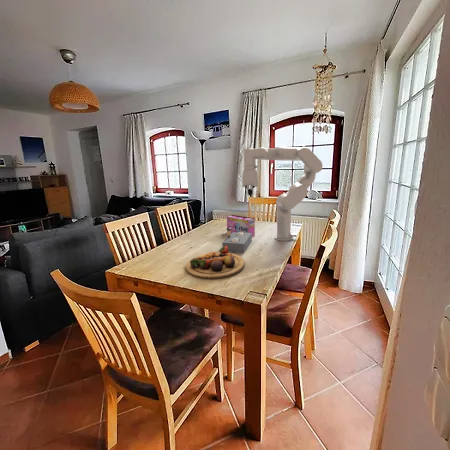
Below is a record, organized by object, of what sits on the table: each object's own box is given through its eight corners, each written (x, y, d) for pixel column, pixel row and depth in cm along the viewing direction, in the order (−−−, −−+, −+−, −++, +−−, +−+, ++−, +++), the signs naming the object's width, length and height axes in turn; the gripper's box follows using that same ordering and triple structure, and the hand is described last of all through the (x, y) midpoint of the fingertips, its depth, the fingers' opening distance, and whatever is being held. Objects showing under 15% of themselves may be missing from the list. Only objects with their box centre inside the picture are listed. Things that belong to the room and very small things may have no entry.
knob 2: (244, 241, 173) (244, 232, 171) (242, 243, 169) (242, 234, 167) (238, 241, 174) (237, 232, 173) (236, 243, 170) (236, 233, 168)
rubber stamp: (231, 236, 166) (231, 227, 165) (230, 237, 164) (230, 228, 162) (227, 236, 167) (227, 227, 166) (226, 237, 164) (226, 228, 163)
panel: (251, 241, 174) (251, 232, 173) (244, 253, 152) (243, 243, 150) (232, 240, 178) (232, 232, 177) (222, 251, 156) (222, 242, 155)
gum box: (225, 232, 199) (224, 216, 196) (232, 230, 204) (231, 214, 201) (248, 237, 182) (248, 220, 179) (255, 235, 188) (255, 218, 184)
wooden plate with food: (213, 252, 157) (212, 239, 154) (256, 262, 136) (255, 248, 134) (173, 270, 133) (172, 256, 131) (218, 286, 113) (216, 270, 111)
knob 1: (239, 248, 160) (239, 238, 158) (237, 250, 156) (237, 240, 154) (232, 247, 161) (232, 237, 160) (231, 249, 157) (230, 239, 156)
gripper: (261, 167, 165) (262, 194, 170) (240, 168, 170) (240, 194, 174) (259, 167, 158) (260, 196, 163) (237, 168, 163) (238, 196, 167)
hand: (250, 195), depth 168 cm, fingers closed
